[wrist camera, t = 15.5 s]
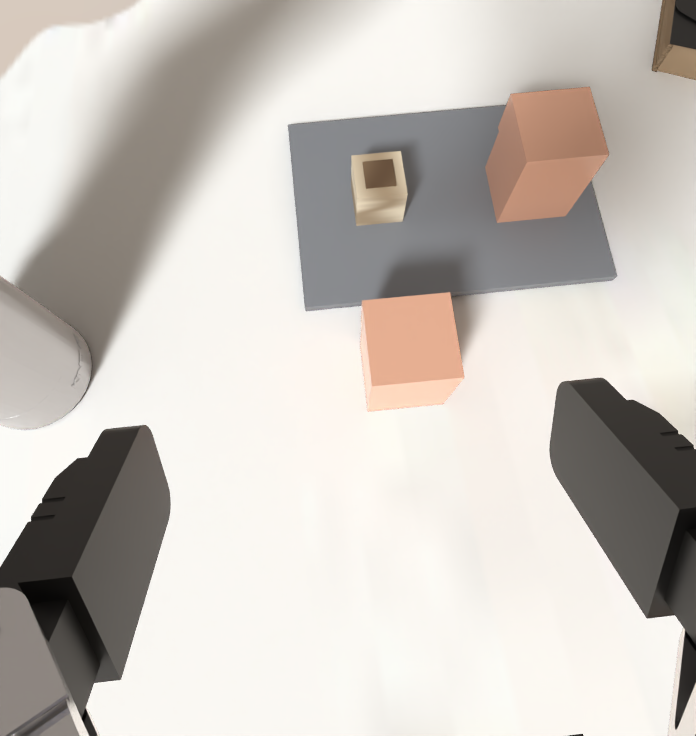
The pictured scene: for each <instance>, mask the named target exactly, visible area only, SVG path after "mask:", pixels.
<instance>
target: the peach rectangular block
mask: <svg viewBox="0 0 696 736" xmlns="http://www.w3.org/2000/svg"><path fill="white" fill-rule="evenodd" d="M498 130H499V133H498V135H497V138H496V140H495V143H494V146H493V148H492V151H491V153H490V156H489V159H488V161H487V164H486V166H485V169H486V174H487V179H488V183H489V188H490V193H491V198H492V202H493V207H494V212H495V217H496V221H497V223H501V222H511V221H522V220H532V219H542V218H553V217H563V216H566V215H567V214H568V212H569V211H570V209H571V208H572V207H573V205H574V204H575V202H576V201H577V200H578V198H579V197H580V195H581V194H582V192H583V191H584V190H585V188H586V187H587V185H588V184H589V183H590V181H591V180H592V178H593V177H594V175H595V174H596V173H597V171H598V170H599V168H600V167H601V166H602V164H603V163H604V161H605V160H606V159H607V157H608V156H609V152H608V148H607V145H606V141H605V138H604V134H603V131H602V127H601V124H600V120H599V117H598V114H597V110H596V107H595V103H594V100H593V96H592V93H591V89H590V87H582V88H571V89H560V90H548V91H537V92H526V93H515V94H510V97H509V100H508V102H507V105H506V108H505V110H504V113H503V115H502V118H501V121H500V123H499V126H498Z"/></svg>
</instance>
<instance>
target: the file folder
mask: <svg viewBox="0 0 696 736" xmlns="http://www.w3.org/2000/svg"><path fill="white" fill-rule="evenodd" d="M652 70H653V71H655V72H657V71H661V72H665V73H669V74H674V75H678V76H682V77H686V78H689V79H694V80H696V0H663V1H662V8H661V14H660V21H659V27H658V34H657V40H656V47H655V53H654V60H653V67H652Z"/></svg>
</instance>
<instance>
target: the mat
mask: <svg viewBox="0 0 696 736" xmlns="http://www.w3.org/2000/svg"><path fill="white" fill-rule="evenodd" d="M505 108H506V105H502V106H490V107H479V108H468V109H457V110H446V111H435V112H424V113H412V114H401V115H390V116H379V117H368V118H357V119H345V120H334V121H323V122H312V123H301V124H290V125H288V130H289V141H290V152H291V162H292V173H293V184H294V195H295V206H296V216H297V227H298V238H299V249H300V259H301V270H302V281H303V292H304V303H305V310H306V311H312V310H322V309H332V308H342V307H352V306H362V300H372V299H383V298H394V297H404V296H415V295H426V294H437V293H447V292H450V294H451V297H452V296H462V295H472V294H481V293H491V292H501V291H511V290H521V289H531V288H541V287H551V286H561V285H571V284H581V283H591V282H601V281H611V280H613V279H614V278H616V277H617V274H616V270H615V267H614V263H613V259H612V256H611V252H610V248H609V245H608V241H607V237H606V234H605V230H604V226H603V223H602V219H601V215H600V212H599V208H598V204H597V201H596V197H595V194H594V190H593V186H592V183H591V181H590V183H589V184H588V185H587V187H586V188H585V190H584V191H583V192H582V194H581V195H580V197H579V198H578V200H577V201H576V202H575V204H574V205H573V207H572V208H571V209H570V211H569V212H568V214H567V215H566V216H563V217H553V218H542V219H532V220H522V221H511V222H501V223H497V221H496V217H495V212H494V207H493V202H492V198H491V193H490V188H489V183H488V179H487V174H486V169H485V166H486V164H487V161H488V159H489V156H490V153H491V151H492V148H493V146H494V143H495V140H496V138H497V135H498V133H499V130H498V126H499V123H500V121H501V118H502V115H503V113H504V110H505ZM395 151H401V155H402V162H403V168H404V174H405V180H406V186H407V193H408V195H407V200H406V206H405V211H404V217H403V222H392V223H382V224H372V225H361V226H356V220H355V212H354V204H353V196H352V189H351V155H362V154H373V153H384V152H395Z"/></svg>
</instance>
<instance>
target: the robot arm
mask: <svg viewBox="0 0 696 736" xmlns="http://www.w3.org/2000/svg"><path fill="white" fill-rule="evenodd" d="M91 371H92V361H91V354H90V351H89V348H88V345H87V343H86V342H85V340H84V339H83V337H82V336H81V335H80V334H79V333H78V332H77V331H76V330H75V329H74V328H73V327H71V326H70V325H68V324H67V323H66V322H64V321H63V320H61V319H60V318H59V317H57V316H56V315H54V314H53V313H52V312H50V311H49V310H48V309H46V308H45V307H44V306H42V305H41V304H39V303H38V302H37V301H35V300H34V299H32V298H31V297H30V296H28V295H27V294H25V293H24V292H22V291H21V290H20V289H18V288H17V287H15V286H14V285H13V284H11V283H10V282H8V281H7V280H6V279H4V278H3V277H1V276H0V425H1V426H4V427H8V428H11V429H20V430H28V429H37V428H40V427H44V426H47V425H50V424H52V423H53V422H55V421H57V420H59V419H61V418H62V417H64V416H65V415H66V414H67V413H69V412H70V411H71V410H72V409H73V408H74V407H75V406H76V405H77V403H78V402H79V401H80V400H81V398H82V396H83V395H84V393H85V391H86V389H87V387H88V384H89V381H90V378H91ZM693 446H694V445H693V444H692V443H690V442H689V441H688V440H687V439H686V438H685V437H684V436H683V435H682V434H680V435H679V434H678V430H677V429H676V428H674V427H673V426H672V425H671V424H670V423H669V422H668V421H667V420H666V419H665V418H664V417H663V416H662V415H661V414H660V413H658V412H656V411H654V410H652V409H650V408H648V407H646V406H644V405H642V404H640V403H638V402H637V401H635V400H626V399H625V398H624V397H623V396H622V395H621V394H620V393H619V392H618V391H617V390H616V389H615V388H614V387H613V386H612V385H611V384H610V383H609V382H608V381H606V380H605V379H603V378H593V379H583V380H574V381H565V382H562V383H561V384H560V385H559V387H558V389H557V394H556V401H555V409H554V417H553V424H552V432H551V439H550V459H551V464H552V467H553V470H554V473H555V475H556V477H557V479H558V480H559V482H560V483H561V485H562V486H563V488H564V489H565V491H566V493H567V494H568V496H569V497H570V499H571V500H572V502H573V504H574V505H575V507H576V508H577V510H578V511H579V513H580V515H581V516H582V518H583V519H584V521H585V522H586V524H587V525H588V527H589V529H590V530H591V532H592V533H593V535H594V536H595V538H596V540H597V541H598V543H599V544H600V546H601V547H602V549H603V551H604V552H605V554H606V555H607V557H608V558H609V560H610V562H611V563H612V565H613V566H614V568H615V569H616V571H617V572H618V574H619V576H620V577H621V579H622V580H623V582H624V583H625V585H626V587H627V588H628V590H629V591H630V593H631V594H632V596H633V598H634V599H635V601H636V602H637V604H638V605H639V607H640V608H641V610H642V612H643V613H644V615H645V616H646V618H655V617H663V616H672V615H675V616H676V617H677V619H678V620H679V621H680V623H681V624H682V626H683V629H682V632H681V635H680V639H679V645H678V653H677V661H676V669H675V678H674V686H673V694H672V703H671V711H670V719H669V728H668V736H696V449H694V447H693ZM169 516H170V492H169V487H168V483H167V480H166V477H165V474H164V470H163V467H162V464H161V461H160V457H159V454H158V451H157V448H156V445H155V441H154V438H153V435H152V432H151V430H150V429H149V427H148V426H146V425H140V426H131V427H121V428H112V429H105V430H104V431H103V432H102V433H101V435H100V436H99V438H98V440H97V442H96V443H95V445H94V447H93V449H92V451H91V452H90V454H89V456H88V457H86V458H77V459H76V460H75V461H74V462H73V463H72V464H71V465H69V466H68V467H67V468H66V469H65V470H64V471H62V472H61V473H60V474H59V475H58V476H57V477H56V478H55V479H54V481H53V482H52V484H51V485H50V487H49V489H48V490H47V492H46V494H45V495H44V497H43V498H42V503H40V504H39V505H38V507H37V508H36V510H35V512H34V513H33V515H32V516H31V522H28V523H27V525H26V526H25V528H24V529H23V531H22V533H21V534H20V536H19V538H18V539H17V541H16V542H15V544H14V546H13V547H12V549H11V551H10V552H9V554H8V556H7V557H6V559H5V560H4V562H3V564H2V565H1V567H0V736H100V735H99V732H98V730H97V728H96V726H95V723H94V721H93V719H92V717H91V714H90V712H89V711H88V709H87V707H86V705H87V702H88V699H89V696H90V693H91V690H92V687H93V684H94V683H97V682H106V681H114V680H121V677H122V674H123V671H124V667H125V664H126V661H127V657H128V654H129V651H130V647H131V644H132V641H133V637H134V634H135V631H136V627H137V624H138V620H139V617H140V614H141V610H142V607H143V604H144V600H145V597H146V594H147V590H148V587H149V584H150V580H151V577H152V574H153V570H154V567H155V564H156V560H157V557H158V554H159V550H160V547H161V544H162V540H163V537H164V534H165V530H166V527H167V524H168V520H169ZM570 736H583V734H578V735H570Z"/></svg>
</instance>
